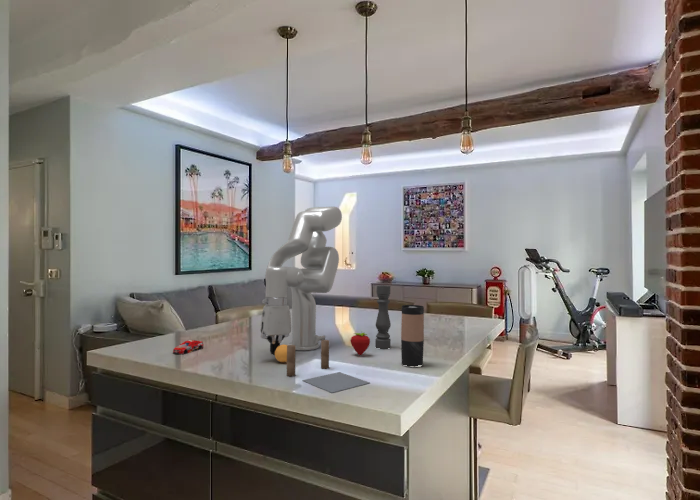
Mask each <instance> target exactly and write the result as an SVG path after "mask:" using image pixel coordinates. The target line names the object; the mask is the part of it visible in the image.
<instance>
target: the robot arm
mask: <svg viewBox="0 0 700 500" xmlns="http://www.w3.org/2000/svg"><path fill="white" fill-rule="evenodd" d="M342 216H343V214H342V211H341V209H340V208H339V207H337V206H315V207H309V208H306V209H305V210H304V211H300V212H298V213H297V214H296V216H295V219H294V221H293V224H292V228H291V231H290V234H289V237H288V239H287V242H285V243H284V244H282V246H280V247H279V248H278V249H277V250H276V251H275V252H273V254H272V255H271V257H270V258H269V262H268V265H267V268H266V271H265V276H264V277H265V278H264V279H265V297H264V299H262V300H261V303H262V304H264V306H263V308H262V312H261V319H260V333H261V334H260V338H261V339H262V340H267V342H269V343H270V345H269V352H270V355H272V356H275V350H276V348H277V347H278V346H280V345H281V343H282V341H283V340H284V339H286V338H287V337H289V336H290V334H291V342H290V343H288V344H287V345H295V346H296V348H295V351H311V350H313V351H314V350H317V349H318V348H320V343H318V342H321V340H326V336H325V335H320V336H319V335H317V334H316V331H317V330H316V328H317V327H316V326H317V325H316V324H317V322H316V319H317V316H316V315H317V314H316V313H317V305H316V300H315V296H314V295H313V294H314V293H315V294H327V293H329V292H331V290H332V289H333V285H334V283H335V279H336V274H337V271H338V267H339V263H340V256H339V252H338V249H336V248H335V247H332V246H327V245H326V244H327V237H326V235H325V234H324V232H329V231H331V230H333V229H335V228H337V227H338V226H339V225H340V224H341V222H342V219H343V217H342ZM299 255H300V264H301V267H302V268H299V267H296V266H283V265H284V264H285V263H286V262H288V260H290V259H292V258H294V257H296V256H299ZM288 288H290V290H291V310H290V305H288ZM312 293H313V294H312ZM291 311H292V312H291Z"/></svg>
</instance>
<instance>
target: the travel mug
mask: <svg viewBox="0 0 700 500" xmlns="http://www.w3.org/2000/svg"><path fill="white" fill-rule="evenodd" d="M424 308H425V307H424V306H423V305H420V304H418V305H417V304H407V305H406V304H404V305H401V322H400V323H401V328H400V331H401V333H400V334H401V335H400V336H401V337H400V338H401V339H400V347H401V348H400V350H401V365H402V364H403V365H407V366H418V365H422V364H423V365H424V345H425V343H424V342H425V339H424V338H425V337H424V336H425V334H424V333H425V329H424V328H425V325H424V324H425V323H424V322H425V321H424V320H425V319H424V318H425V316H424V315H425V312H424V311H425V309H424ZM403 365H402V366H403Z"/></svg>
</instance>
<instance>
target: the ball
mask: <svg viewBox="0 0 700 500" xmlns="http://www.w3.org/2000/svg"><path fill="white" fill-rule="evenodd" d="M287 346H288V344H280V346H278V347H277V348H276V350H275V355H274V357H275V359H276V361H278V362H280V363H287Z"/></svg>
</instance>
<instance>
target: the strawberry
mask: <svg viewBox="0 0 700 500" xmlns="http://www.w3.org/2000/svg"><path fill="white" fill-rule="evenodd" d="M370 343H371V339H370V337H369V336H368V334H367V333H365V332H361V333H360V332H354V333H353V335H352V336H351V337H350V345H351V347H352V348H353V350H354V351H355V352H356V353H357V355H358V356H360V355H361V356H362V355H364V353H365V352H366V351H367V349H368V348H369V346H370Z"/></svg>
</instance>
